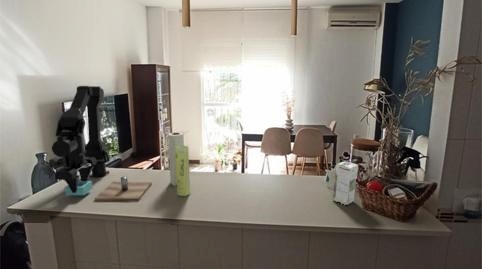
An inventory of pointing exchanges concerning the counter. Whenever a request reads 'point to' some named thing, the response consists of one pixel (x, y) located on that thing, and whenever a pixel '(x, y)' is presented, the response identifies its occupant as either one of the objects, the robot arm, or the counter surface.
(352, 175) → the syrup box
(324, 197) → the counter surface
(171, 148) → the paper towel roll
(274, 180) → the counter surface
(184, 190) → the tube
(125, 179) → the post
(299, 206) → the counter surface
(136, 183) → the base plate
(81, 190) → the ring
